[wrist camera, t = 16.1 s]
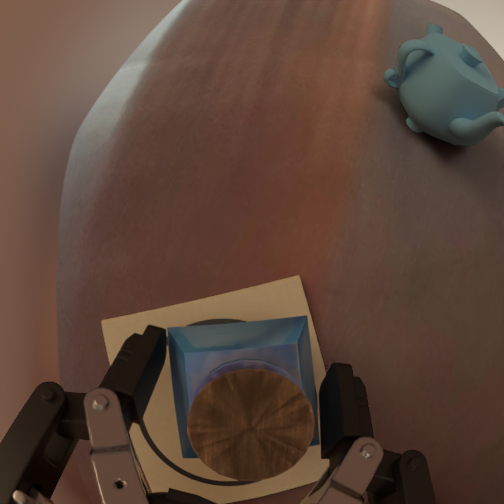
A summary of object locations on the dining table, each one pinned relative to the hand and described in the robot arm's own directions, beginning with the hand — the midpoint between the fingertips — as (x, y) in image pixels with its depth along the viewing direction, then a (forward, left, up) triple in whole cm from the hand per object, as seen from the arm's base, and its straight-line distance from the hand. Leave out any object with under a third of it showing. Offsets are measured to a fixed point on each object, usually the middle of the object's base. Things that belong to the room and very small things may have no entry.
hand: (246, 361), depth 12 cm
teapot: (+28, +18, -9) cm, 34 cm away
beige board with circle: (-2, -4, -9) cm, 10 cm away
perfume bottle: (0, -1, -7) cm, 7 cm away
